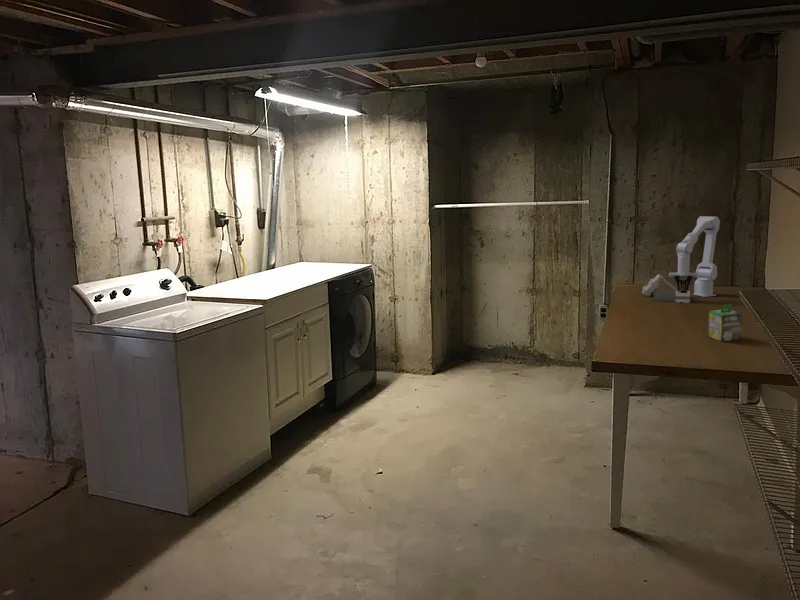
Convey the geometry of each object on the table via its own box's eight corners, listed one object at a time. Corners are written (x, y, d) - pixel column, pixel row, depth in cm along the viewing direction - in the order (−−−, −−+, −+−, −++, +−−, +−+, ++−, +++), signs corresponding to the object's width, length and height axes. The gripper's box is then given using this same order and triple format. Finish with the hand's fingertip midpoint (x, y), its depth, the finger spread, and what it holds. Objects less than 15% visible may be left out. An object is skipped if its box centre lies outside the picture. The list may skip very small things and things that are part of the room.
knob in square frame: (654, 295, 364) (655, 286, 363) (689, 296, 357) (689, 287, 356) (653, 301, 348) (653, 292, 347) (689, 302, 341) (690, 293, 340)
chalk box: (726, 335, 273) (728, 301, 271) (741, 340, 264) (743, 305, 262) (707, 336, 272) (708, 302, 269) (721, 342, 263) (722, 306, 260)
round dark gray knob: (678, 293, 346) (677, 279, 344) (684, 292, 347) (683, 278, 345) (683, 294, 342) (682, 280, 341) (689, 293, 343) (688, 279, 342)
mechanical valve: (640, 289, 371) (658, 269, 365) (664, 308, 370) (684, 289, 364) (640, 293, 362) (659, 274, 356) (665, 313, 361) (685, 294, 354)
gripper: (668, 265, 341) (668, 290, 344) (698, 266, 335) (697, 291, 338) (669, 264, 347) (668, 288, 350) (698, 264, 342) (697, 289, 344)
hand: (682, 290), depth 344 cm, fingers closed on round dark gray knob, 3 cm apart
